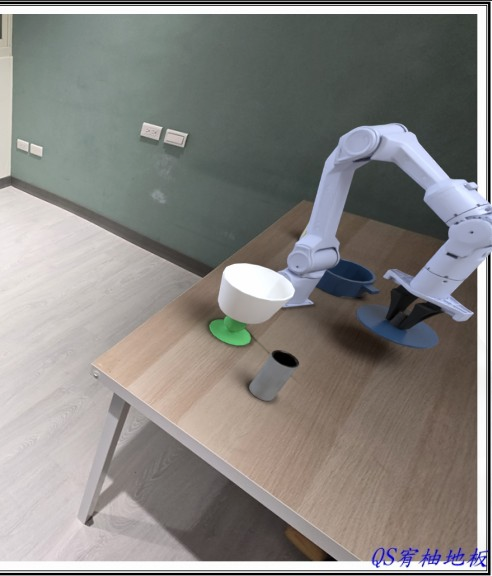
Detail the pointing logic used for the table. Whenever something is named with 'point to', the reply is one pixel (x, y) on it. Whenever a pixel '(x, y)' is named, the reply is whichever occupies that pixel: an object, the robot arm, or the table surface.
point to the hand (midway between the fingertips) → (397, 323)
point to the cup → (248, 300)
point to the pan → (348, 280)
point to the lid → (396, 327)
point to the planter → (273, 375)
